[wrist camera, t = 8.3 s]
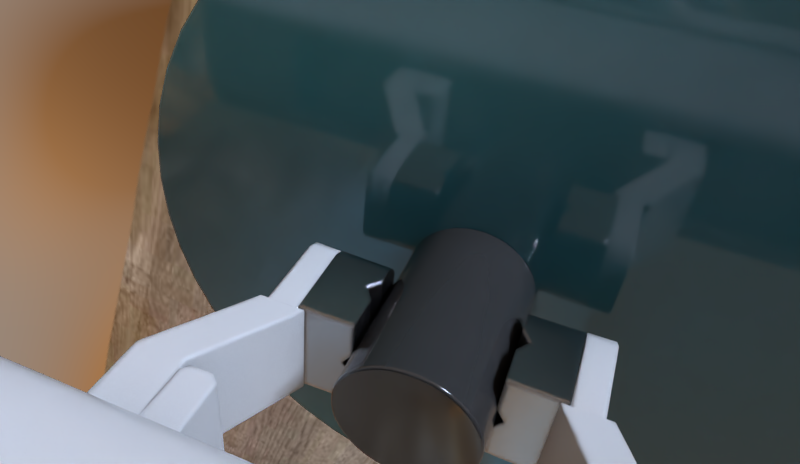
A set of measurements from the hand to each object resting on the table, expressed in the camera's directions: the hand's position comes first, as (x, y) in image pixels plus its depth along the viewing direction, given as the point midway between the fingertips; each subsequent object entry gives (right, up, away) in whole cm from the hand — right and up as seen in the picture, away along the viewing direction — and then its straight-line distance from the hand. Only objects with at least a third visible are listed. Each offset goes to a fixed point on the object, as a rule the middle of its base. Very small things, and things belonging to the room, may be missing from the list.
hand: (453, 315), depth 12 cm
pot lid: (+1, +1, +1) cm, 2 cm away
